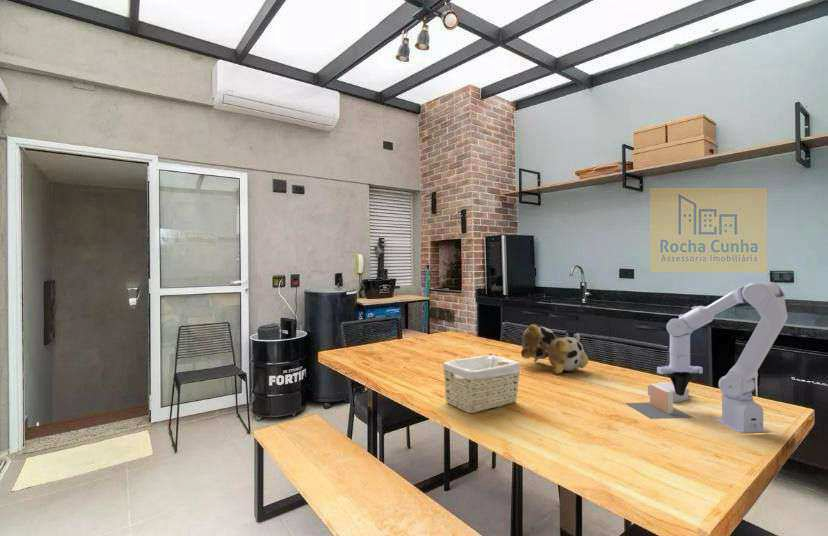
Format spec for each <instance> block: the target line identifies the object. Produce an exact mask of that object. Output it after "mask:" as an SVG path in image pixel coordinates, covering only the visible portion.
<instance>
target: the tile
mask: <svg viewBox="0 0 828 536" xmlns="http://www.w3.org/2000/svg"><path fill="white" fill-rule="evenodd" d="M656 384H657V383H649V385H650V396H649V402H650V404H651V405H653V406H655V407H656V408H658V409H660V410H662V411H664V412H666V413H668V414H673V407H674V406H673V405H674V403H673V392H672V391H669V390H667V389H665V388H663V387H661V386H658V385H656Z"/></svg>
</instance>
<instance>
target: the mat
mask: <svg viewBox="0 0 828 536" xmlns="http://www.w3.org/2000/svg"><path fill="white" fill-rule="evenodd" d="M624 404H625V405H626V406H629V407H630V408H632V409H633V410H635V411H637V412H639V413H640V414H642V415H644V416H645V417H647V418H649V419H650V420H655V419H656V420H657V419H661V420H662V419H685V418H686V419H690V418H694V416H691V415H690V414H688V413H686V412H683V411H681V410H679V409H677V408H676V407H674V406H673V414H668V413H666V412H664V411H662V410H660V409H658V408H656V407H655V406H653V405H651V404H650V401H649V402H647V401H646V402H624Z"/></svg>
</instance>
